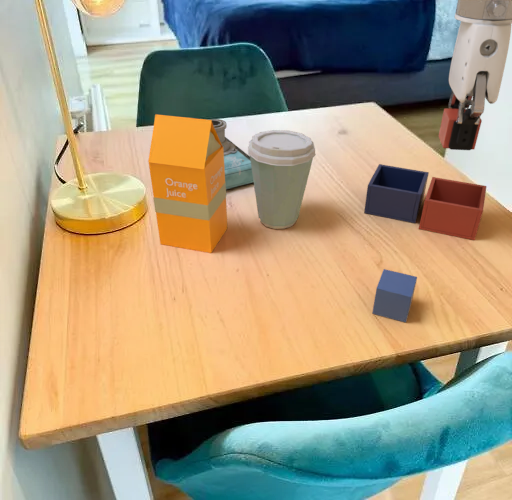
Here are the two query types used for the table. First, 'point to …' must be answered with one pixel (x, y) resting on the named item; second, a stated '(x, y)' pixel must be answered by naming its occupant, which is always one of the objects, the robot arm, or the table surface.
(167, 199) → the orange juice
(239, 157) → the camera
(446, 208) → the red bin
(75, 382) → the table surface
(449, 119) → the red block
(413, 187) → the blue bin
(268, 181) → the disposable coffee cup
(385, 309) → the blue block
